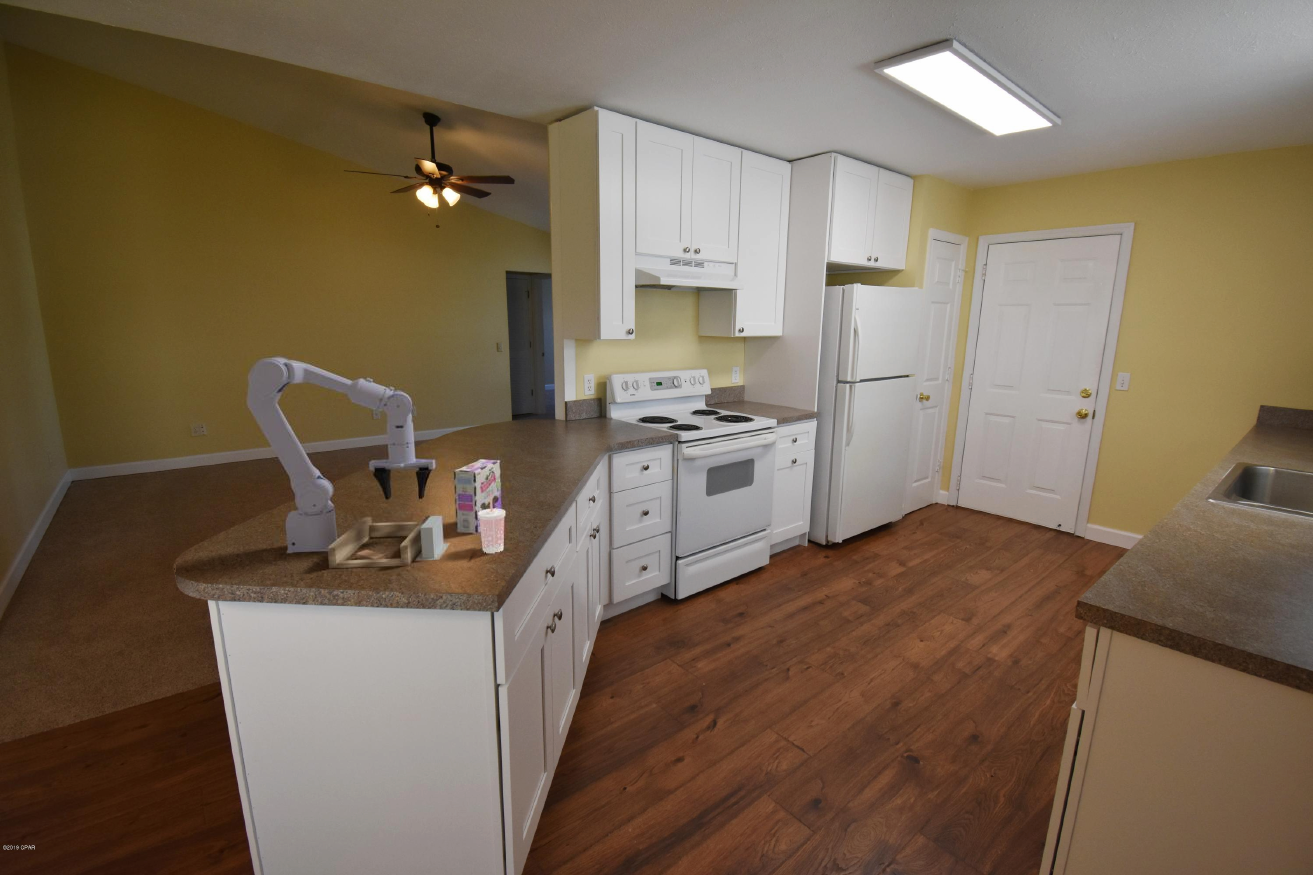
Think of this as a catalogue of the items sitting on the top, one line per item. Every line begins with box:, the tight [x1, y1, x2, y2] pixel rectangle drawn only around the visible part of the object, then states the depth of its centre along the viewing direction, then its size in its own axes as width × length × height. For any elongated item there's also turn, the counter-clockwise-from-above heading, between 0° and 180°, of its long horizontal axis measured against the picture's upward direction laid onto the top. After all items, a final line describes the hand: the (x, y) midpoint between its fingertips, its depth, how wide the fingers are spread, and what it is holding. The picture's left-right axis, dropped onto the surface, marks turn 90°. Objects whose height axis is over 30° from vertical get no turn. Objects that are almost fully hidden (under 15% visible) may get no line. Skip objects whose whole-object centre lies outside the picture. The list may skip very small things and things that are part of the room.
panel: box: [421, 515, 444, 558], centre depth 128 cm, size 8×2×7 cm, turn 7°
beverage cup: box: [478, 491, 506, 554], centre depth 130 cm, size 6×6×14 cm
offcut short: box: [355, 549, 386, 560], centre depth 124 cm, size 6×2×1 cm, turn 62°
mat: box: [414, 542, 451, 562], centre depth 128 cm, size 5×10×1 cm, turn 7°
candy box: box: [453, 458, 503, 535], centre depth 146 cm, size 14×6×16 cm, turn 168°
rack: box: [327, 515, 431, 569], centre depth 129 cm, size 16×20×5 cm
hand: (405, 498), depth 137 cm, fingers open, 7 cm apart
